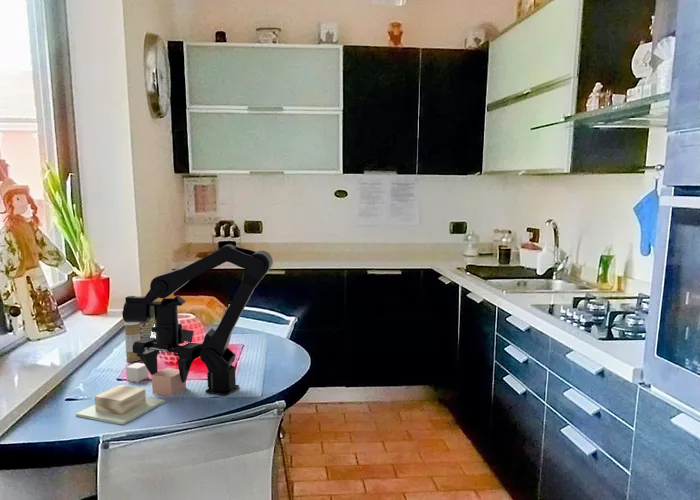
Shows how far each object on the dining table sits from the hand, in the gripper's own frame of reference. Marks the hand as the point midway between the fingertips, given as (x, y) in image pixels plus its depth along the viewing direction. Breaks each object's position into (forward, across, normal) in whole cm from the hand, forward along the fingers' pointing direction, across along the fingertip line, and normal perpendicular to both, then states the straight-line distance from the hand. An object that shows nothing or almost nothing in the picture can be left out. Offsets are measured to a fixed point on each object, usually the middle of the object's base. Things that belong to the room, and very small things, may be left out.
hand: (169, 380), depth 147 cm
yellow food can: (+3, +36, -31) cm, 48 cm away
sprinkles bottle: (+3, +27, -17) cm, 32 cm away
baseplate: (+3, +3, +14) cm, 15 cm away
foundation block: (+2, +3, +14) cm, 15 cm away
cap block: (+3, +14, -4) cm, 15 cm away
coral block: (+3, 0, 0) cm, 3 cm away
